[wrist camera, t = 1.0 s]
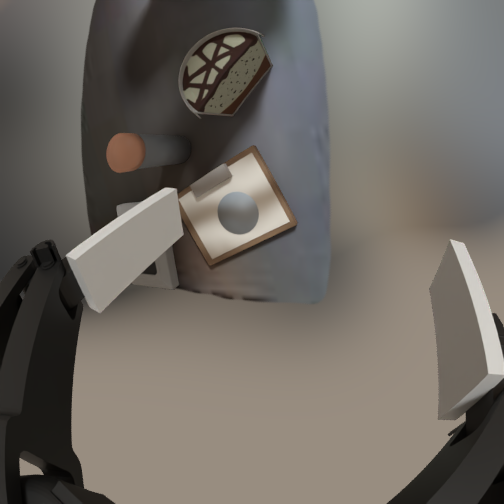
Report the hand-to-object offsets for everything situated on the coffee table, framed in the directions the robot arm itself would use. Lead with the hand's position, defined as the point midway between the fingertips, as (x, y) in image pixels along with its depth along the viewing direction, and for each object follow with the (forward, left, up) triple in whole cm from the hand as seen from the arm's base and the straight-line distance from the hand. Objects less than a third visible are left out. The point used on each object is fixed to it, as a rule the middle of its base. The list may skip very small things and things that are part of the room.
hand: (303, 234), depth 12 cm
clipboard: (-3, -13, -25) cm, 28 cm away
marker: (-15, -16, -25) cm, 33 cm away
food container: (-19, -3, -25) cm, 31 cm away
